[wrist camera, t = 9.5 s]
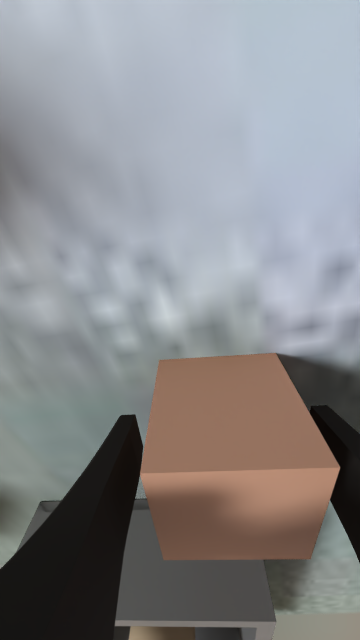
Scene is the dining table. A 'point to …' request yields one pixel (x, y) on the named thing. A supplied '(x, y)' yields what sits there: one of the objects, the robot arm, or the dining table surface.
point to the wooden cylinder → (161, 633)
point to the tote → (183, 587)
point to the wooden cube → (234, 461)
